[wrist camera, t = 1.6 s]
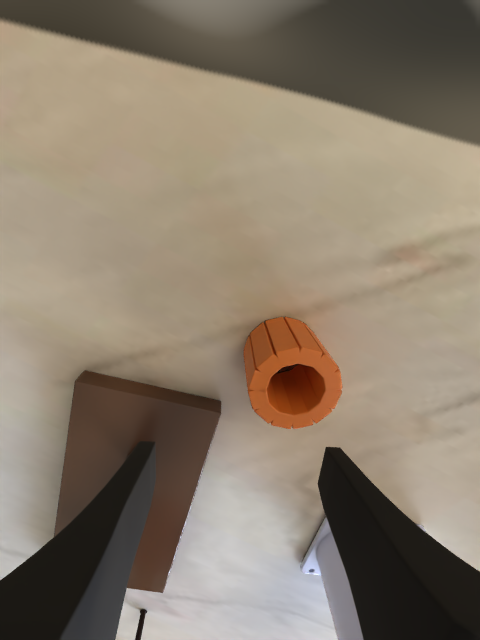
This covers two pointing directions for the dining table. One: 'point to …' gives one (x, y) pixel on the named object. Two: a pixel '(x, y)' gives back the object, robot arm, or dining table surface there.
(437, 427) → the dining table surface
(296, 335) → the orange faceted tube
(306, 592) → the dining table surface
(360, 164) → the dining table surface
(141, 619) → the lollipop
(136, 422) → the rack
